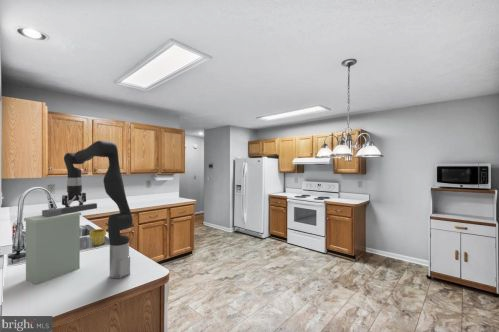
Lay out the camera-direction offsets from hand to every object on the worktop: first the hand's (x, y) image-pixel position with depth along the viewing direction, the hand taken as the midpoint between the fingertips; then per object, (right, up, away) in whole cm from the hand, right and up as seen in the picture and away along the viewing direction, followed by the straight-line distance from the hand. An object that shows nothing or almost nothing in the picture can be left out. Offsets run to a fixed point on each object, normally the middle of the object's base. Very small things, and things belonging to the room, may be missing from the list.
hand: (74, 210), depth 149 cm
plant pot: (-2, -30, +26) cm, 40 cm away
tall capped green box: (+4, -31, -21) cm, 37 cm away
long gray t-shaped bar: (+9, +2, -13) cm, 16 cm away
